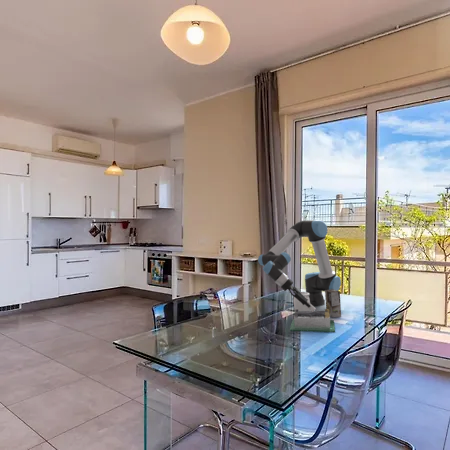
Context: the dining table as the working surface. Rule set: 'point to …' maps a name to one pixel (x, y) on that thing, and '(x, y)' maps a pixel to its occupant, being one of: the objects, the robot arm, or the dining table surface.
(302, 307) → the jar
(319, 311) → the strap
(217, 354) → the dining table surface
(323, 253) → the robot arm
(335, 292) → the coffee box
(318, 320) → the heat sink
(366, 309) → the dining table surface
